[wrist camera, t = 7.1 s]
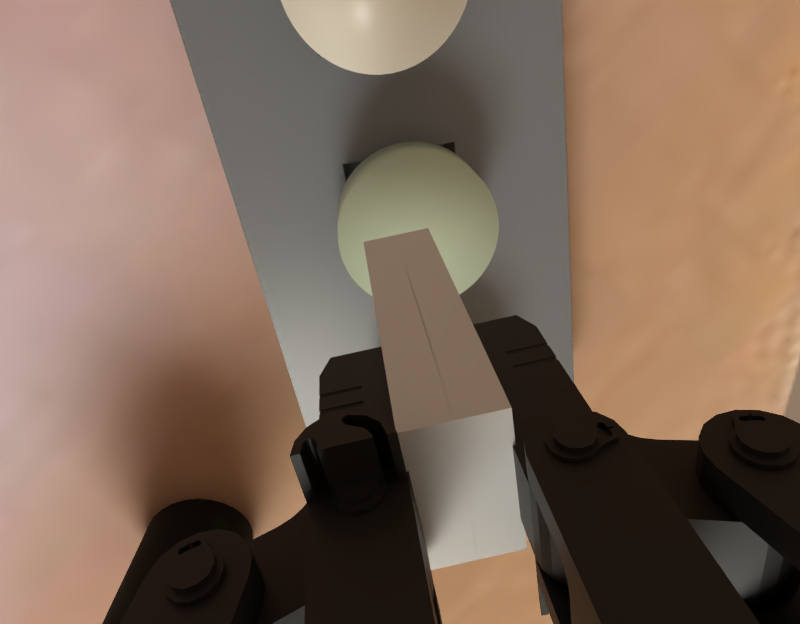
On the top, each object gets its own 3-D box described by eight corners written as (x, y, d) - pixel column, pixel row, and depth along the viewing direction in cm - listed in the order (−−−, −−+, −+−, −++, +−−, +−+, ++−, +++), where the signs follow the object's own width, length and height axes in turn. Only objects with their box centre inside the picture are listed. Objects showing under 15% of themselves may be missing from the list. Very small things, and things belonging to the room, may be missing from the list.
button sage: (321, 142, 21) (320, 172, 17) (461, 115, 21) (491, 137, 17) (351, 271, 23) (356, 321, 20) (476, 245, 24) (505, 290, 20)
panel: (150, -130, 18) (120, -154, 16) (521, -201, 18) (554, -236, 16) (320, 429, 29) (320, 471, 26) (552, 380, 29) (574, 417, 27)
